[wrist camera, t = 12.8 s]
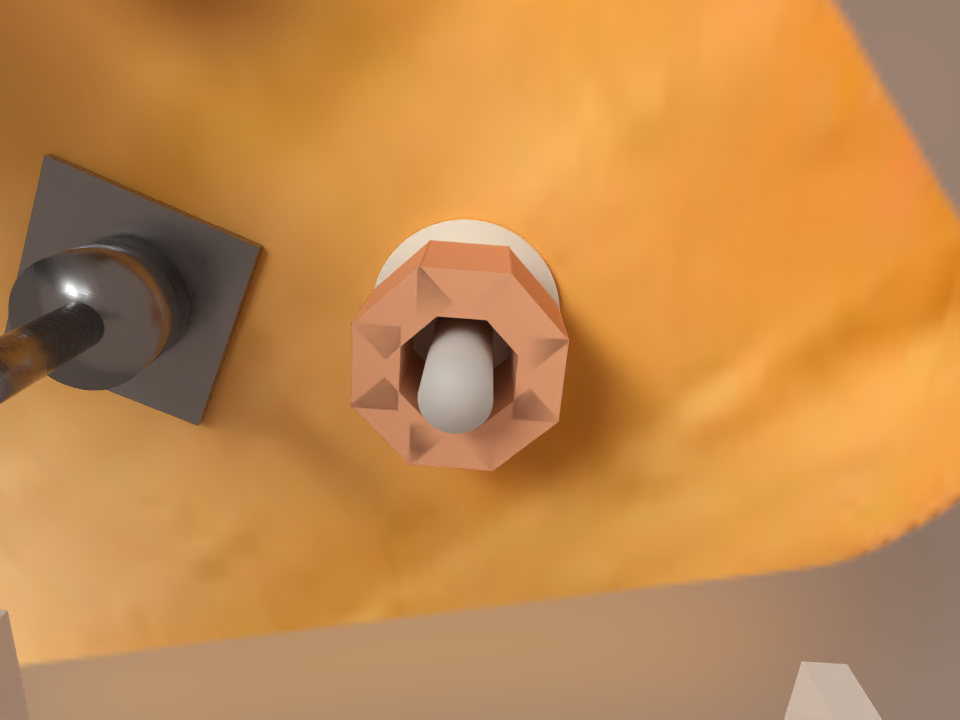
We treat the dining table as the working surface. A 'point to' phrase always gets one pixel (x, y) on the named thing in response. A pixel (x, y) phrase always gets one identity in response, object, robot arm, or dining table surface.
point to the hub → (463, 332)
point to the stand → (122, 295)
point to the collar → (471, 295)
